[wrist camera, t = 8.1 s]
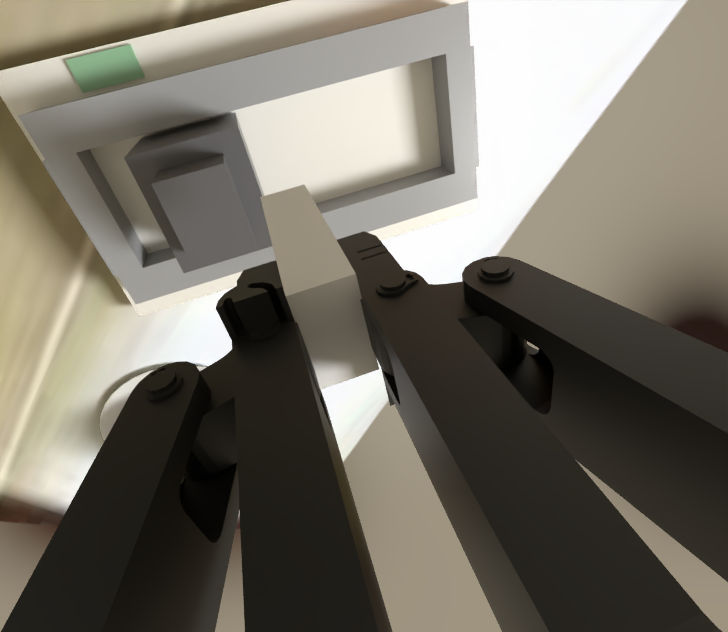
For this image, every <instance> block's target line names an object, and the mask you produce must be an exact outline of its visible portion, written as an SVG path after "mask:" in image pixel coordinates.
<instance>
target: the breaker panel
mask: <svg viewBox="0 0 728 632" xmlns="http://www.w3.org/2000/svg"><path fill="white" fill-rule="evenodd" d="M0 96H1V98H2V99H3V101H4V103H5V104H6V106H7V107H8V109H9V111H10V112H11V114H12V115H13V117H14V118H15V120H16V122H17V123H18V125H19V126H20V128H21V130H22V131H23V133H24V134H25V136H26V138H27V139H28V141H29V142H30V144H31V145H32V147H33V149H34V150H35V152H36V153H37V155H38V157H39V158H40V160H41V161H42V163H43V165H44V167H45V168H46V170H47V171H48V173H49V174H50V176H51V178H52V179H53V181H54V182H55V184H56V186H57V187H58V189H59V190H60V192H61V193H62V195H63V197H64V198H65V200H66V201H67V203H68V205H69V206H70V208H71V209H72V211H73V212H74V214H75V216H76V217H77V219H78V220H79V222H80V224H81V225H82V227H83V228H84V230H85V231H86V233H87V235H88V236H89V238H90V239H91V241H92V243H93V244H94V246H95V247H96V249H97V250H98V252H99V254H100V255H101V257H102V258H103V260H104V262H105V263H106V265H107V266H108V268H109V269H110V271H111V273H112V274H113V276H114V277H115V279H116V280H117V282H118V283H119V285H120V286H121V288H122V290H123V291H124V293H125V294H126V296H127V298H128V299H129V301H130V302H131V304H132V306H133V307H134V309H135V310H136V312H137V313H138V315H139V317H140V316H143V315H146V314H149V313H153V312H156V311H159V310H162V309H165V308H168V307H172V306H175V305H178V304H181V303H184V302H187V301H191V300H194V299H197V298H200V297H203V296H206V295H210V294H213V293H216V292H219V291H222V290H225V289H229V288H232V287H235V286H237V280H238V278H239V277H240V275H241V273H242V272H243V270H246V269H249V268H252V267H255V266H259V265H262V264H265V263H268V262H271V261H275V260H276V258H275V254H274V250H273V246H271V247H268V248H265V249H262V250H258V251H255V252H252V253H249V254H245V255H242V256H239V257H236V258H232V259H229V260H226V261H223V262H219V263H216V264H213V265H210V266H206V267H203V268H200V269H197V270H193V271H190V272H187V273H183V271H182V269H181V267H180V265H179V263H178V261H177V259H176V257H175V255H174V253H173V252H172V250H171V248H170V246H169V244H168V242H167V240H166V238H165V236H164V234H163V232H162V230H161V228H160V226H159V224H158V223H157V221H156V219H155V217H154V215H153V213H152V211H151V209H150V207H149V205H148V203H147V201H146V199H145V197H144V195H143V194H142V192H141V190H140V188H139V186H138V184H137V182H136V180H135V178H134V176H133V174H132V172H131V170H130V168H129V167H128V165H127V163H126V161H125V159H124V157H125V156H126V155H127V154H128V153H129V151H130V150H131V149H132V148H133V147H134V146H135V145H136V144H137V143H138V141H139V140H140V139H141V138H142V137H145V136H149V135H153V134H156V133H160V132H164V131H168V130H171V129H175V128H179V127H183V126H186V125H190V124H194V123H197V122H201V121H205V120H209V119H212V118H216V117H220V116H224V115H227V114H231V113H236V116H237V118H238V121H239V124H240V127H241V130H242V133H243V136H244V139H245V141H246V144H247V147H248V150H249V153H250V156H251V159H252V162H253V164H254V167H255V170H256V173H257V176H258V179H259V182H260V185H261V187H262V190H263V193H264V196H266V195H269V194H273V193H276V192H280V191H283V190H286V189H290V188H293V187H297V186H300V185H303V184H304V185H305V186H306V188H307V190H308V191H309V193H310V195H311V197H312V198H313V200H314V202H315V204H316V205H317V207H318V209H319V211H320V212H321V214H322V216H323V218H324V219H325V221H326V223H327V224H328V226H329V228H330V230H331V231H332V233H333V235H334V237H335V238H336V240H337V239H341V238H344V237H347V236H350V235H353V234H357V233H360V232H363V231H365V232H368V233H370V234H373V235H375V236H377V237H378V239H379V240H380V241H381V240H384V239H387V238H390V237H394V236H397V235H400V234H403V233H406V232H409V231H413V230H416V229H419V228H422V227H425V226H429V225H432V224H435V223H438V222H441V221H444V220H448V219H451V218H454V217H457V216H460V215H463V214H467V213H470V212H473V211H476V210H478V207H477V180H476V167H478V166H479V159H478V136H477V113H476V90H475V68H474V46H470V34H469V13H468V0H290V1H286V2H282V3H278V4H274V5H269V6H265V7H261V8H257V9H253V10H249V11H245V12H241V13H236V14H232V15H228V16H224V17H220V18H216V19H212V20H207V21H203V22H199V23H195V24H191V25H187V26H183V27H178V28H174V29H170V30H166V31H162V32H158V33H154V34H149V35H145V36H141V37H137V38H133V39H129V40H125V41H121V42H116V43H112V44H108V45H104V46H100V47H96V48H92V49H87V50H83V51H79V52H75V53H71V54H67V55H63V56H58V57H54V58H50V59H46V60H42V61H38V62H34V63H29V64H25V65H21V66H17V67H13V68H9V69H5V70H1V71H0Z"/></svg>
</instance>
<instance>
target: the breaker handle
mask: <svg viewBox="0 0 728 632" xmlns="http://www.w3.org/2000/svg"><path fill="white" fill-rule="evenodd" d="M124 159H125V161H126V163H127V165H128V167H129V168H130V170H131V172H132V174H133V176H134V178H135V180H136V182H137V184H138V186H139V188H140V190H141V192H142V194H143V195H144V197H145V199H146V201H147V203H148V205H149V207H150V209H151V211H152V213H153V215H154V217H155V219H156V221H157V223H158V224H159V226H160V228H161V230H162V232H163V234H164V236H165V238H166V240H167V242H168V244H169V246H170V248H171V250H172V252H173V253H174V255H175V257H176V259H177V261H178V263H179V265H180V267H181V269H182V271H183V273H187V272H190V271H193V270H197V269H200V268H203V267H206V266H210V265H213V264H216V263H219V262H223V261H226V260H229V259H232V258H236V257H239V256H242V255H245V254H249V253H252V252H255V251H258V250H262V249H265V248H268V247H271V246H272V242H271V238H270V234H269V230H268V226H267V222H266V218H265V214H264V210H263V206H262V202H261V198H260V197H263V196H264V193H263V190H262V187H261V185H260V182H259V179H258V176H257V173H256V170H255V167H254V164H253V162H252V159H251V156H250V153H249V150H248V147H247V144H246V141H245V139H244V136H243V133H242V130H241V127H240V124H239V121H238V118H237V116H236V113H231V114H227V115H224V116H220V117H216V118H212V119H209V120H205V121H201V122H197V123H194V124H190V125H186V126H183V127H179V128H175V129H171V130H168V131H164V132H160V133H156V134H153V135H149V136H145V137H142V138H141V139H140V140H139V141H138V143H137V144H136V145H135V146H134V147H133V148H132V149H131V150H130V151H129V153H128V154H127V155H126V156H125V157H124Z"/></svg>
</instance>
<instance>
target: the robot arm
mask: <svg viewBox="0 0 728 632" xmlns="http://www.w3.org/2000/svg"><path fill="white" fill-rule="evenodd" d="M260 198H261V202H262V206H263V210H264V214H265V218H266V222H267V226H268V230H269V234H270V238H271V242H272V246H273V250H274V254H275V258H276V260H275V261H271V262H268V263H265V264H262V265H259V266H255V267H252V268H249V269H246V270H243V272H242V273H241V275H240V277H239V278H238V280H237V286H236V287H234V288H233V289H231V290H230V291H228V292H227V293H225V294H224V295H223V296H222V297H221V299H220V300H219V301H218V303H217V306H216V310H217V312H218V314H219V316H220V318H221V320H222V322H223V324H224V326H225V328H226V330H227V332H228V334H229V336H230V338H231V340H232V350H231V351H230V352H229V353H228V354H227V355H226V356H224V357H223V358H221V359H220V360H218V361H217V362H215V363H214V364H212V365H210V366H208V367H206V368H205V369H203V370H201V371H199V370H198V368H197V367H196V365H195V364H192V363H189V362H174V363H171V364H168V365H165V366H162V367H160V368H158V369H157V370H154V371H152V372H151V373H149V374H148V375H147V376H146V377H145V378H143V379H142V380H141V381H140V382H139V383H138V384H137V385H136V387H135V388H134V389H133V391H132V392H131V394H130V396H129V397H128V399H127V401H126V403H125V405H124V407H123V408H122V410H121V412H120V414H119V416H118V418H117V419H116V421H115V423H114V425H113V427H112V429H111V431H110V432H109V434H108V436H107V438H106V440H105V442H104V443H103V445H102V447H101V449H100V451H99V453H98V454H97V456H96V458H95V460H94V462H93V464H92V465H91V467H90V469H89V471H88V473H87V475H86V476H85V478H84V480H83V482H82V484H81V486H80V487H79V489H78V491H77V493H76V495H75V497H74V498H73V500H72V502H71V504H70V506H69V508H68V509H67V511H66V513H65V515H64V517H63V519H62V520H61V522H60V524H59V526H58V528H57V530H56V532H55V534H54V535H53V537H52V539H51V541H50V543H49V545H48V546H47V548H46V550H45V552H44V554H43V555H42V557H41V559H40V561H39V563H38V565H37V566H36V568H35V570H34V572H33V574H32V576H31V578H30V579H29V581H28V583H27V585H26V587H25V588H24V590H23V592H22V594H21V596H20V598H19V599H18V602H17V603H16V605H15V607H14V609H13V610H12V612H11V614H10V616H9V618H8V620H7V622H6V623H5V625H4V627H3V629H2V631H1V632H215V627H216V623H217V618H218V613H219V608H220V603H221V598H222V593H223V588H224V583H225V578H226V573H227V568H228V563H229V558H230V553H231V548H232V543H233V538H234V533H235V528H236V524H237V519H238V514H239V509H240V529H241V550H242V573H243V596H244V618H245V632H392V629H391V625H390V622H389V618H388V615H387V612H386V608H385V605H384V601H383V598H382V595H381V591H380V588H379V584H378V581H377V578H376V575H375V571H374V567H373V564H372V560H371V557H370V553H369V550H368V547H367V543H366V540H365V536H364V533H363V530H362V526H361V523H360V519H359V516H358V513H357V509H356V506H355V502H354V499H353V496H352V492H351V489H350V485H349V482H348V479H347V475H346V472H345V468H344V465H343V461H342V458H341V455H340V451H339V448H338V444H337V441H336V437H335V434H334V431H333V427H332V424H331V420H330V417H329V414H328V410H327V407H326V404H325V401H324V398H323V396H322V393H321V389H324V388H326V387H329V386H332V385H335V384H338V383H341V382H343V381H346V380H349V379H352V378H355V377H358V376H361V375H363V374H366V373H369V372H372V371H375V370H378V369H379V367H378V363H377V360H378V362H379V364H380V366H381V369H382V373H383V377H384V381H385V385H386V390H387V394H388V398H389V402H390V405H394V404H395V406H396V408H397V410H398V412H399V414H400V416H401V418H402V420H403V422H404V425H405V427H406V429H407V431H408V433H409V435H410V437H411V439H412V441H413V444H414V446H415V448H416V450H417V452H418V454H419V456H420V458H421V460H422V463H423V465H424V467H425V469H426V471H427V473H428V475H429V477H430V480H431V482H432V484H433V486H434V488H435V490H436V492H437V494H438V497H439V499H440V501H441V503H442V505H443V507H444V509H445V511H446V513H447V516H448V518H449V520H450V522H451V524H452V526H453V528H454V530H455V532H456V534H457V537H458V539H459V541H460V543H461V545H462V547H463V549H464V551H465V554H466V556H467V558H468V560H469V562H470V564H471V566H472V568H473V570H474V573H475V574H476V577H477V579H478V581H479V583H480V585H481V587H482V589H483V591H484V594H485V596H486V598H487V600H488V602H489V604H490V606H491V609H492V611H493V613H494V615H495V617H496V619H497V621H498V623H499V626H500V628H501V630H502V632H722V631H721V630H720V629H718V628H717V627H716V626H715V625H714V623H712V621H710V619H709V618H708V617H707V616H706V615H705V614H704V613H703V612H702V611H701V610H700V608H699V607H698V606H697V605H696V603H695V602H694V601H693V600H692V599H691V597H690V596H689V595H688V594H687V593H686V592H685V590H684V589H683V588H682V587H681V585H680V584H679V583H678V582H677V581H676V579H675V578H674V577H673V576H672V575H671V574H670V572H669V571H668V570H667V569H666V568H665V567H664V565H663V564H662V563H661V562H660V561H659V559H658V558H657V557H656V556H655V554H653V552H652V551H651V550H650V549H649V547H648V546H647V545H646V544H645V543H644V541H643V540H642V539H641V538H640V537H639V535H638V534H637V533H636V532H635V531H634V529H633V528H632V527H631V526H630V525H629V523H628V522H627V521H626V520H625V519H624V518H623V516H622V515H621V514H620V513H619V511H618V510H617V509H616V508H615V507H614V505H613V504H612V503H611V502H610V501H609V499H608V498H607V497H606V496H605V495H604V494H603V492H602V491H601V490H600V489H599V488H598V486H597V485H596V484H595V483H594V482H593V480H592V479H591V478H590V477H589V476H588V475H587V473H586V472H585V471H584V470H583V468H582V467H581V466H580V465H579V464H578V463H577V461H578V462H579V463H581V464H582V465H583V466H584V467H585V468H587V469H588V470H589V471H590V472H592V473H593V474H594V475H595V476H597V477H598V478H599V479H601V480H602V481H603V482H604V483H605V484H607V485H608V486H609V487H610V488H612V489H613V490H614V491H615V492H617V493H618V494H619V495H620V496H622V497H623V498H624V499H626V501H628V502H629V503H630V504H631V505H633V506H634V507H635V508H636V509H638V510H639V511H640V512H641V513H643V514H644V515H645V516H646V517H648V518H649V519H650V520H651V521H653V522H654V523H655V524H656V525H658V526H659V527H660V528H661V529H663V530H664V531H665V532H666V533H668V534H669V535H670V536H671V537H673V538H674V539H675V540H676V541H677V542H679V543H680V544H681V545H682V546H684V547H685V548H686V549H687V550H689V551H690V552H691V553H692V554H694V555H695V556H696V557H697V558H699V559H700V560H701V561H702V562H704V563H705V564H706V565H707V566H709V567H710V568H711V569H712V570H714V571H715V572H716V573H717V574H718V575H720V576H721V577H722V578H723V579H725V580H726V581H727V582H728V353H727V352H725V351H722V350H720V349H718V348H715V347H713V346H711V345H709V344H706V343H704V342H702V341H700V340H697V339H695V338H693V337H691V336H689V335H686V334H684V333H682V332H679V331H677V330H675V329H673V328H671V327H668V326H666V325H664V324H661V323H659V322H657V321H655V320H653V319H650V318H648V317H646V316H643V315H641V314H639V313H637V312H635V311H632V310H630V309H628V308H625V307H623V306H621V305H619V304H617V303H614V302H612V301H610V300H607V299H605V298H603V297H601V296H599V295H596V294H594V293H592V292H590V291H587V290H585V289H583V288H581V287H578V286H576V285H574V284H572V283H569V282H567V281H565V280H563V279H560V278H558V277H556V276H554V275H551V274H549V273H547V272H545V271H542V270H540V269H538V268H536V267H533V266H531V265H529V264H527V263H524V262H522V261H520V260H517V259H513V258H510V257H499V256H492V257H486V258H483V259H480V260H477V261H474V262H472V263H471V264H470V265H468V266H467V267H466V268H465V269H464V271H463V273H462V278H463V282H457V283H450V284H439V285H432V284H428V283H427V282H426V281H425V280H424V279H423V277H421V276H420V275H418V274H417V273H415V272H411V271H407V270H403V269H402V268H401V266H400V265H399V264H398V263H397V261H396V260H395V259H394V258H393V256H392V255H391V254H390V252H388V250H387V249H386V247H385V246H384V245H383V244H382V242H381V241H380V240H379V239H378V237H377V236H375V235H373V234H370V233H368V232H365V231H363V232H360V233H357V234H353V235H350V236H347V237H344V238H341V239H337V240H336V238H335V237H334V235H333V233H332V231H331V230H330V228H329V226H328V224H327V223H326V221H325V219H324V218H323V216H322V214H321V212H320V211H319V209H318V207H317V205H316V204H315V202H314V200H313V198H312V197H311V195H310V193H309V191H308V190H307V188H306V186H305V185H304V184H303V185H300V186H297V187H293V188H290V189H286V190H283V191H280V192H276V193H273V194H269V195H266V196H263V197H260ZM527 341H528V342H530V343H532V344H533V345H535V346H537V347H538V348H539V350H537V349H534V348H532V347H531V346H529V345H528V344H527ZM376 358H377V359H376ZM576 460H577V461H576Z"/></svg>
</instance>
